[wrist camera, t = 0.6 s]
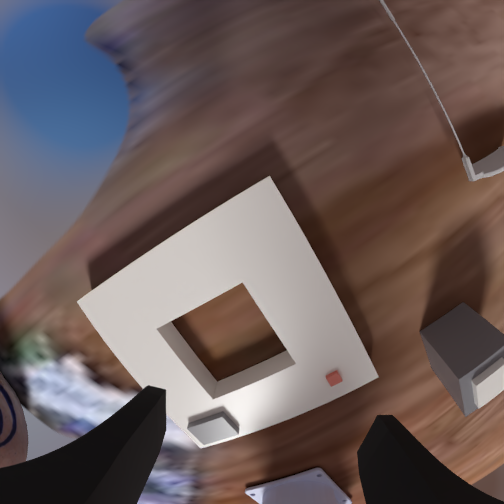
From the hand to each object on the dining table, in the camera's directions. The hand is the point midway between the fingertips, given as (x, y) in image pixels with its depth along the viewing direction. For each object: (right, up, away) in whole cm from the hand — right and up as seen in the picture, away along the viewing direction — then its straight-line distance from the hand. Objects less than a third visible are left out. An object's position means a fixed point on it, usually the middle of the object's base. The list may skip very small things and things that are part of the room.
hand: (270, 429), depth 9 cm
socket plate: (-2, +1, +10) cm, 11 cm away
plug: (+14, 0, +10) cm, 17 cm away
